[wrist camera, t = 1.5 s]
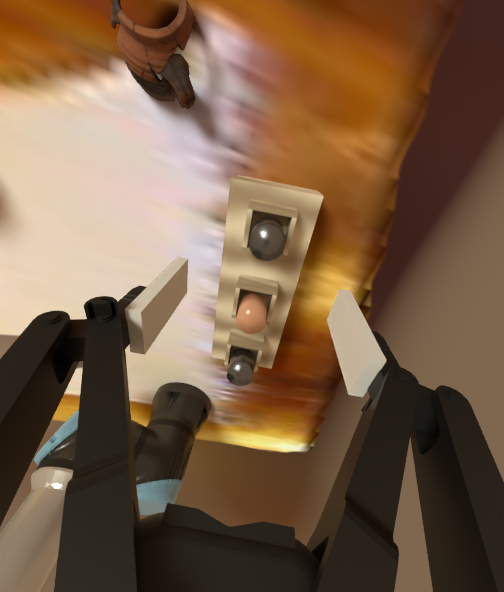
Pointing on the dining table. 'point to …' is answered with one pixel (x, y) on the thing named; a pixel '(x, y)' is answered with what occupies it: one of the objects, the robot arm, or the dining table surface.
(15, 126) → the dining table surface
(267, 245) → the knob near
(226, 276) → the beige long block
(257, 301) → the knob middle
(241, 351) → the knob far
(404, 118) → the dining table surface
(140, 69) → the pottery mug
